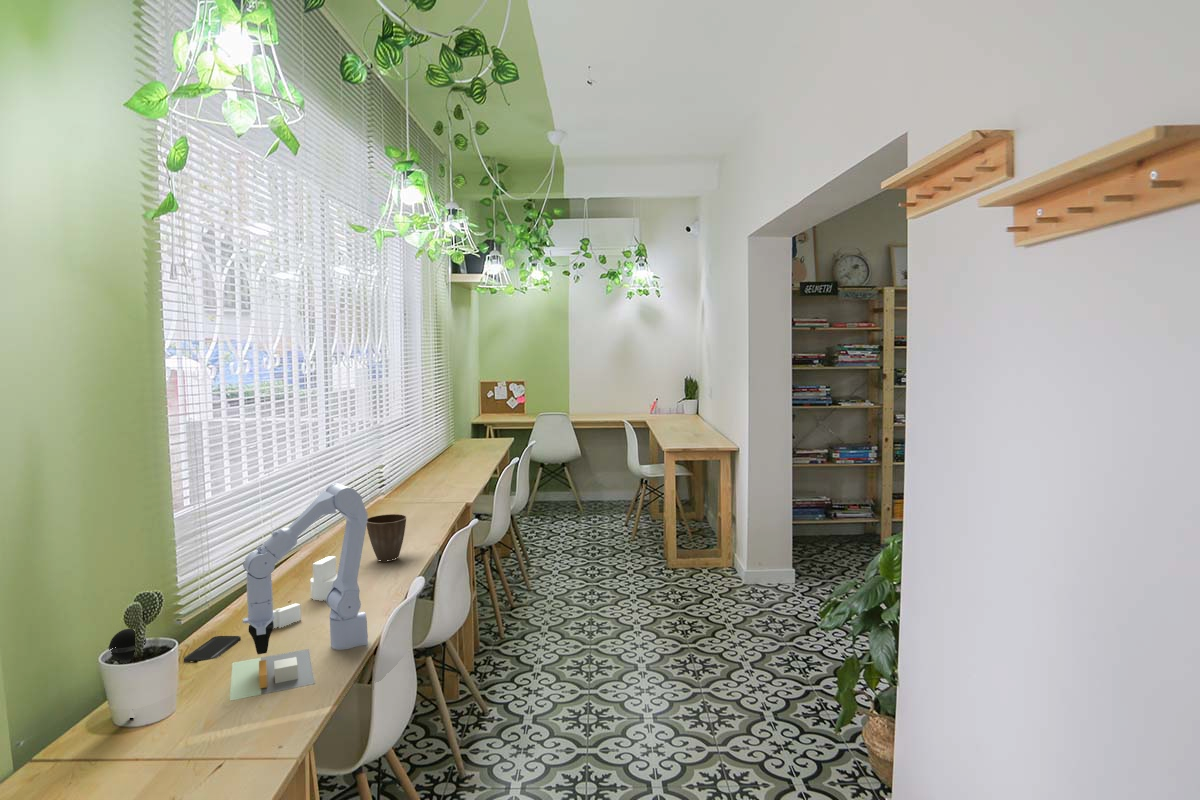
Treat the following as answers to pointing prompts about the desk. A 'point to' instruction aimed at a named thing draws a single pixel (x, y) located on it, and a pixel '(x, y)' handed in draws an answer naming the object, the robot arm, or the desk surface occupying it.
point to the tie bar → (263, 674)
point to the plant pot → (386, 535)
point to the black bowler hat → (123, 645)
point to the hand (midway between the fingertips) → (262, 652)
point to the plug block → (286, 670)
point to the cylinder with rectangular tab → (323, 577)
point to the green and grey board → (268, 675)
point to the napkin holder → (286, 615)
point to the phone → (212, 648)
